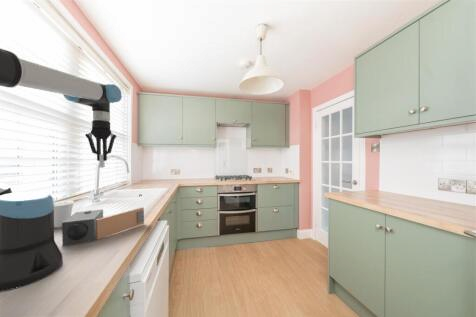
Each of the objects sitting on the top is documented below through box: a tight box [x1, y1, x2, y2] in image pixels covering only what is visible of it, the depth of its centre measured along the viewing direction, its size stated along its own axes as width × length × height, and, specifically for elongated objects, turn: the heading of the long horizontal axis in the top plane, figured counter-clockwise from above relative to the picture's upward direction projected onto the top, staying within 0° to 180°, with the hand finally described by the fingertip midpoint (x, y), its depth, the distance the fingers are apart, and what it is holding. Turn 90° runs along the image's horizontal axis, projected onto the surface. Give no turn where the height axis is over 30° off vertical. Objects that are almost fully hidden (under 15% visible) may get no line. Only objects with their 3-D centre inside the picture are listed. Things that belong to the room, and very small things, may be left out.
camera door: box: [96, 206, 145, 240], centre depth 84 cm, size 20×2×8 cm, turn 150°
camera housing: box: [61, 209, 104, 247], centre depth 79 cm, size 16×10×10 cm, turn 24°
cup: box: [53, 200, 75, 229], centre depth 92 cm, size 10×10×11 cm
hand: (102, 167), depth 95 cm, fingers closed
